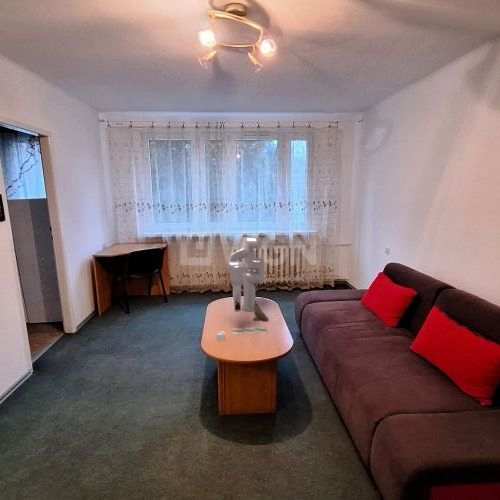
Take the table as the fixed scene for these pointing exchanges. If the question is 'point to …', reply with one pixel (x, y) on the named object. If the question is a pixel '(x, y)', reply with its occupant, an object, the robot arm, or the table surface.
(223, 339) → the die
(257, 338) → the table surface
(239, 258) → the robot arm
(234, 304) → the pink cylindrical peg
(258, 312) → the worn brown figurine
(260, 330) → the game board
